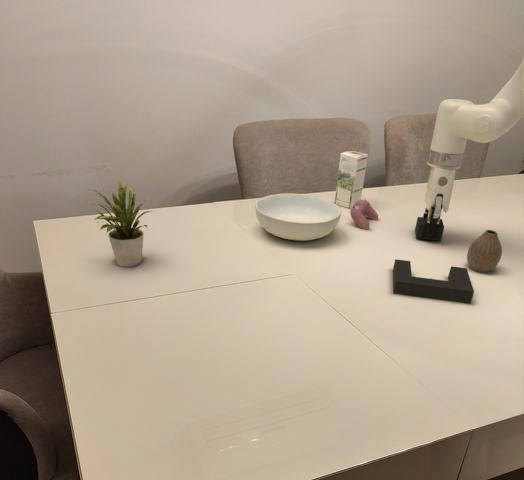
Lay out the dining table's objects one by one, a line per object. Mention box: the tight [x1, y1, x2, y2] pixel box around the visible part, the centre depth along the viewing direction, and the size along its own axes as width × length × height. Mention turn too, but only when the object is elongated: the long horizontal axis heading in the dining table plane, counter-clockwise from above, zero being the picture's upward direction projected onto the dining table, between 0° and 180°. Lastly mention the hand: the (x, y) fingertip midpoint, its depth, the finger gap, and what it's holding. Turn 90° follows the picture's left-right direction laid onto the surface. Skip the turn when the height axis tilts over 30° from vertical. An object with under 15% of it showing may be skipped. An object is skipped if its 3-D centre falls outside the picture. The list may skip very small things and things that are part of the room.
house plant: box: [84, 180, 151, 268], centre depth 103 cm, size 14×14×16 cm
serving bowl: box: [254, 193, 342, 241], centre depth 123 cm, size 21×21×7 cm
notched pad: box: [392, 258, 475, 305], centre depth 102 cm, size 15×11×3 cm
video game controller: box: [349, 199, 379, 231], centre depth 132 cm, size 10×5×7 cm, turn 154°
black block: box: [414, 216, 445, 242], centre depth 125 cm, size 6×6×4 cm
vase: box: [466, 229, 503, 274], centre depth 110 cm, size 7×7×9 cm
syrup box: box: [334, 150, 369, 210], centre depth 141 cm, size 6×6×14 cm
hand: (428, 233), depth 126 cm, fingers closed on black block, 6 cm apart
